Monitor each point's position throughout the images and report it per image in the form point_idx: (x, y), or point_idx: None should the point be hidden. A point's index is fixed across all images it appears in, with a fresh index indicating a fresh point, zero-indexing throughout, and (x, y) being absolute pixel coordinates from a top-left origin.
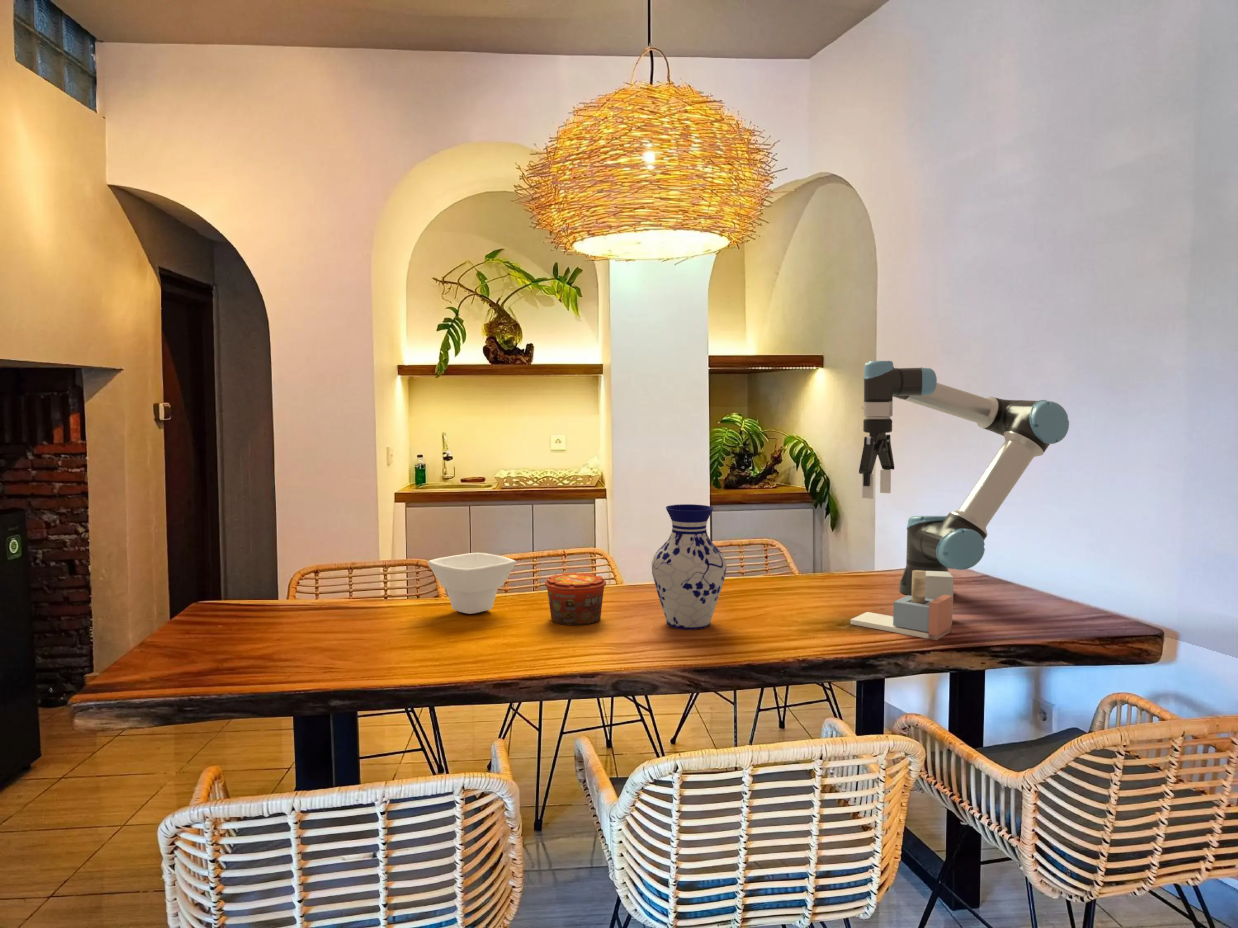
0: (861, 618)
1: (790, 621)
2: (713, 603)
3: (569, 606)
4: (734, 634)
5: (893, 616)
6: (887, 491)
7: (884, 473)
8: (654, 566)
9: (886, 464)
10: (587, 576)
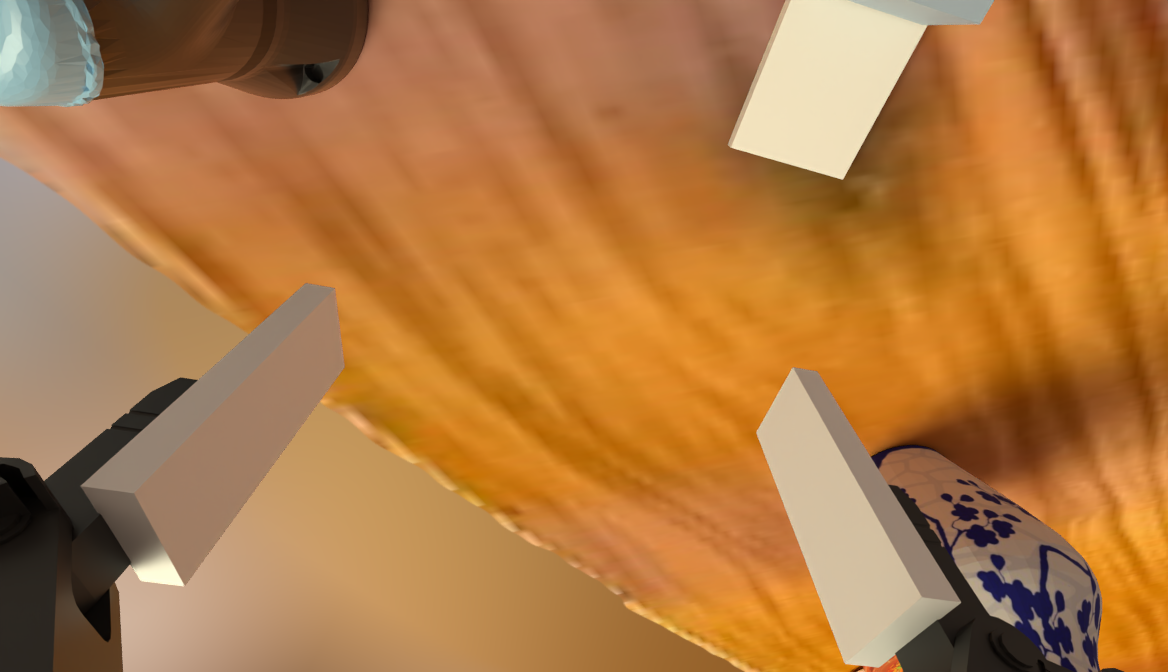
0: (823, 149)
1: (839, 320)
2: (966, 477)
3: None
4: (976, 393)
5: (943, 24)
6: (329, 316)
7: (207, 498)
8: None
9: (83, 635)
10: (899, 663)
